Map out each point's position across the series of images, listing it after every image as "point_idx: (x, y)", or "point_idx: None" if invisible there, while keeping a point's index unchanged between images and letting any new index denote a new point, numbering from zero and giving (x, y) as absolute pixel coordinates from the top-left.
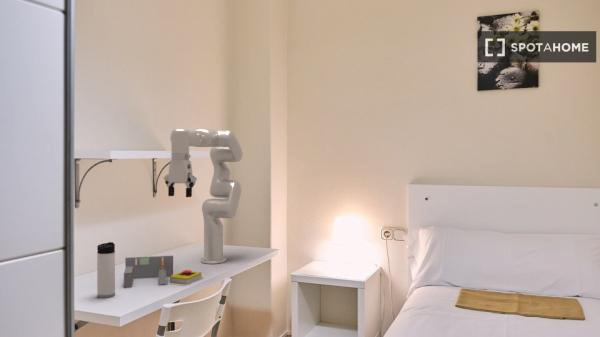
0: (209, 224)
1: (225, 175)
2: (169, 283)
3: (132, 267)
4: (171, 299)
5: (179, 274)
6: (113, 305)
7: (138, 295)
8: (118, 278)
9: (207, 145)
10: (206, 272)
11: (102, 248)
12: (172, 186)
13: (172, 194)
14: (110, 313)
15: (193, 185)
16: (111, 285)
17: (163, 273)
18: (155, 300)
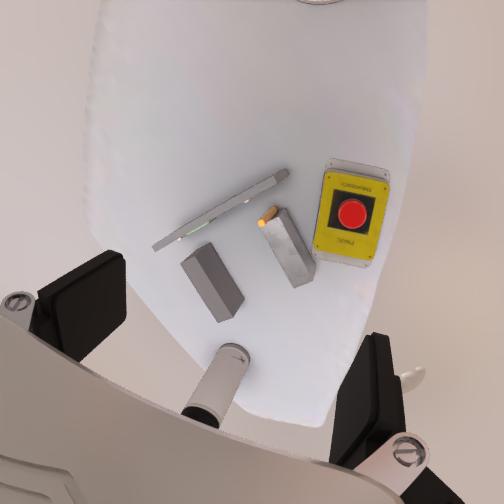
0: None
1: None
2: (319, 254)
3: (200, 268)
4: None
5: (331, 222)
6: (282, 397)
7: (294, 349)
8: (167, 233)
9: None
10: (370, 105)
11: None
12: (48, 329)
13: (117, 288)
14: (300, 422)
15: (437, 483)
16: (242, 377)
17: (306, 282)
18: (344, 370)
